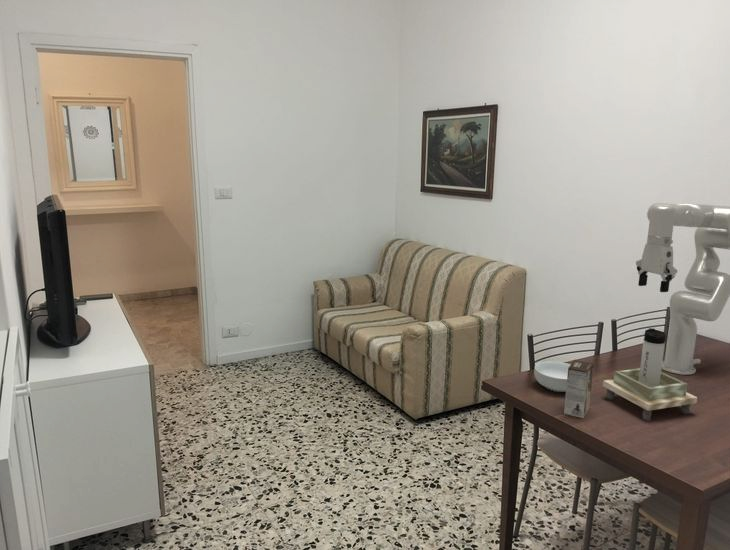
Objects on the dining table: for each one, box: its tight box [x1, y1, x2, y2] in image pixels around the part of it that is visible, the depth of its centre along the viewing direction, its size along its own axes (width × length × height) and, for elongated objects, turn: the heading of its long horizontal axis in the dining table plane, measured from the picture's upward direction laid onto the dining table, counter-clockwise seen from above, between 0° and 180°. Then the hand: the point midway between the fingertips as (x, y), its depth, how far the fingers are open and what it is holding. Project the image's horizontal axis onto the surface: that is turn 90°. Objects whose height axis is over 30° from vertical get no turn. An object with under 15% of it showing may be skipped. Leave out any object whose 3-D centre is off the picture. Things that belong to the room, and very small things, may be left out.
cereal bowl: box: [533, 360, 571, 393], centre depth 200 cm, size 17×17×7 cm
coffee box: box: [563, 359, 595, 419], centre depth 181 cm, size 9×6×16 cm
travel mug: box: [639, 327, 667, 387], centre depth 185 cm, size 6×7×20 cm
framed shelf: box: [602, 367, 698, 422], centre depth 187 cm, size 20×20×10 cm
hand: (652, 288), depth 198 cm, fingers open, 9 cm apart
